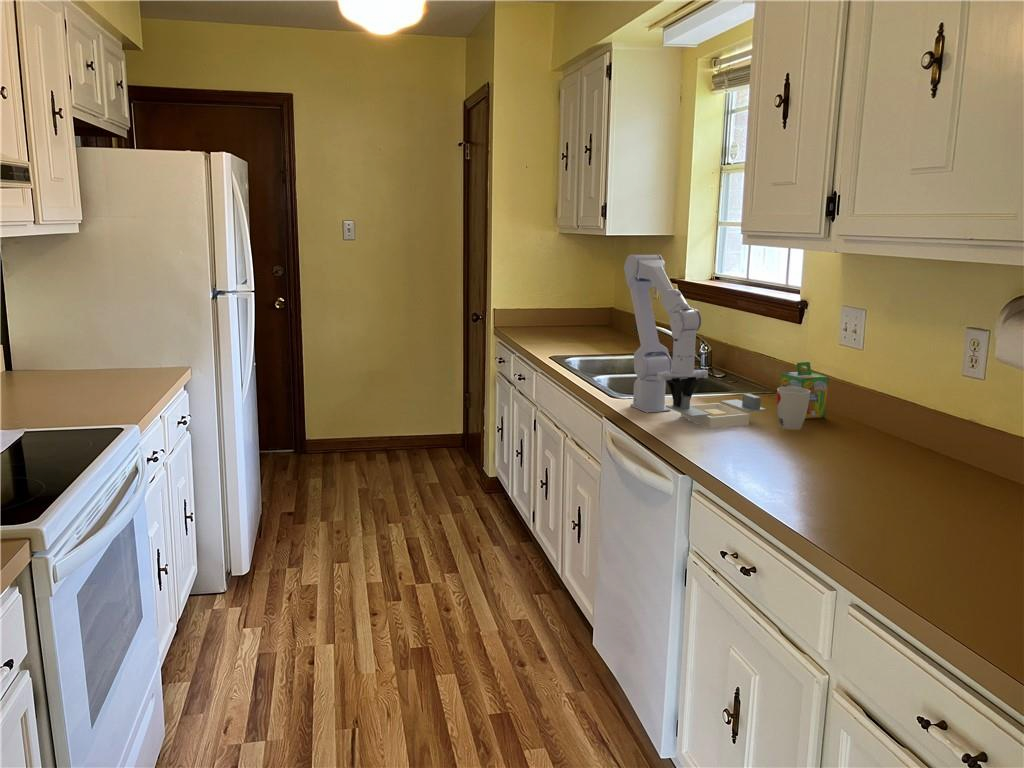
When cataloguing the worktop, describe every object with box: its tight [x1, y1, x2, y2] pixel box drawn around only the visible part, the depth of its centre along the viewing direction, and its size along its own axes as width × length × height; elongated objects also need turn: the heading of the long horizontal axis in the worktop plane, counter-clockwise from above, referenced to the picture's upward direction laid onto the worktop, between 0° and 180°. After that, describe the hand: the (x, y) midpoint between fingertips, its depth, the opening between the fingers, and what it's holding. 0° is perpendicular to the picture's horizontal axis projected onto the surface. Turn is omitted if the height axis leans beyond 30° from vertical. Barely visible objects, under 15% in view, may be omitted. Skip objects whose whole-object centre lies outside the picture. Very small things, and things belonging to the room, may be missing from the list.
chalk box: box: [780, 361, 830, 420], centre depth 222 cm, size 9×9×15 cm
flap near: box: [665, 394, 710, 417], centre depth 212 cm, size 12×6×4 cm, turn 21°
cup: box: [776, 386, 810, 431], centre depth 209 cm, size 8×8×10 cm
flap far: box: [720, 393, 767, 413], centre depth 218 cm, size 12×6×4 cm, turn 21°
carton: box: [680, 402, 751, 429], centre depth 216 cm, size 14×12×3 cm
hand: (681, 405), depth 215 cm, fingers closed on flap near, 2 cm apart
